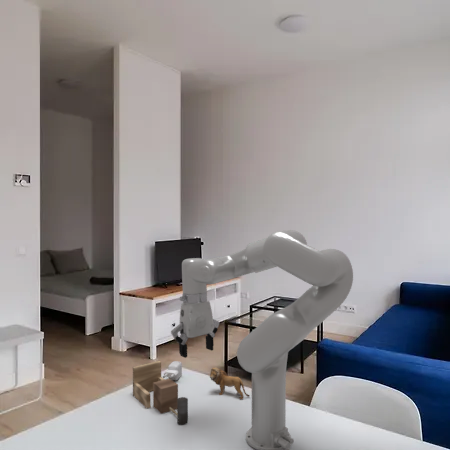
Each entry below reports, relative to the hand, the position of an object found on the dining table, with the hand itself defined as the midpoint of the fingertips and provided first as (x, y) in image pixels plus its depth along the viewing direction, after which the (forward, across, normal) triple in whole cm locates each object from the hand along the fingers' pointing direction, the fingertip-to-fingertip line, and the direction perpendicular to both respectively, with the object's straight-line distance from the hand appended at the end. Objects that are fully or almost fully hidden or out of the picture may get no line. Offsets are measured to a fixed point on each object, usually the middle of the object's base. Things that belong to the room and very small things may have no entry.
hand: (197, 352), depth 125 cm
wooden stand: (+20, -4, +22) cm, 30 cm away
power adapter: (+20, +8, +30) cm, 37 cm away
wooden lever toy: (+20, -5, +8) cm, 22 cm away
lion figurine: (+21, +17, +8) cm, 28 cm away
